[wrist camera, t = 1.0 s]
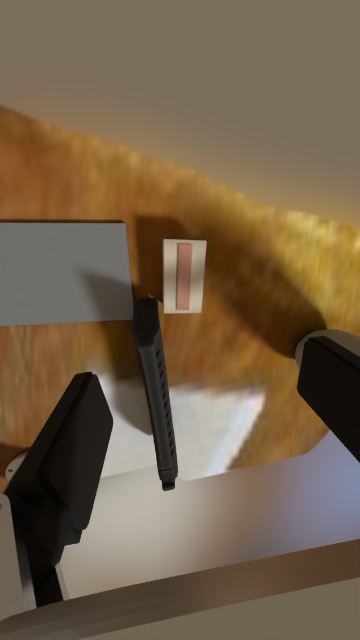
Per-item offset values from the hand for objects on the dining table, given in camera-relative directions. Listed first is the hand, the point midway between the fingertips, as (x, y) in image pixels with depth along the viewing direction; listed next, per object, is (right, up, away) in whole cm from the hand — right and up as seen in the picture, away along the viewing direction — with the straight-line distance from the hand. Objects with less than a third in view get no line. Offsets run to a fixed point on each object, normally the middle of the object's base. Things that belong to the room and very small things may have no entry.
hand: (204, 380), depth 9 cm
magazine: (-5, -8, +26) cm, 28 cm away
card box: (-1, +10, +19) cm, 22 cm away
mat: (-18, +9, +17) cm, 26 cm away
